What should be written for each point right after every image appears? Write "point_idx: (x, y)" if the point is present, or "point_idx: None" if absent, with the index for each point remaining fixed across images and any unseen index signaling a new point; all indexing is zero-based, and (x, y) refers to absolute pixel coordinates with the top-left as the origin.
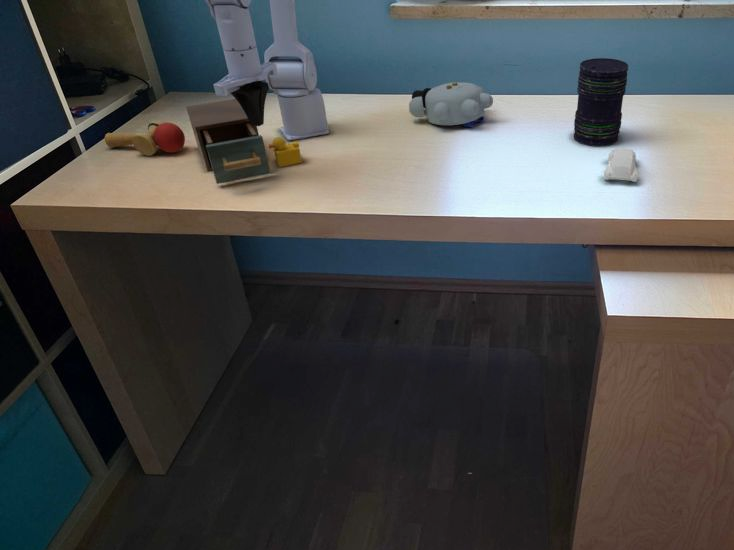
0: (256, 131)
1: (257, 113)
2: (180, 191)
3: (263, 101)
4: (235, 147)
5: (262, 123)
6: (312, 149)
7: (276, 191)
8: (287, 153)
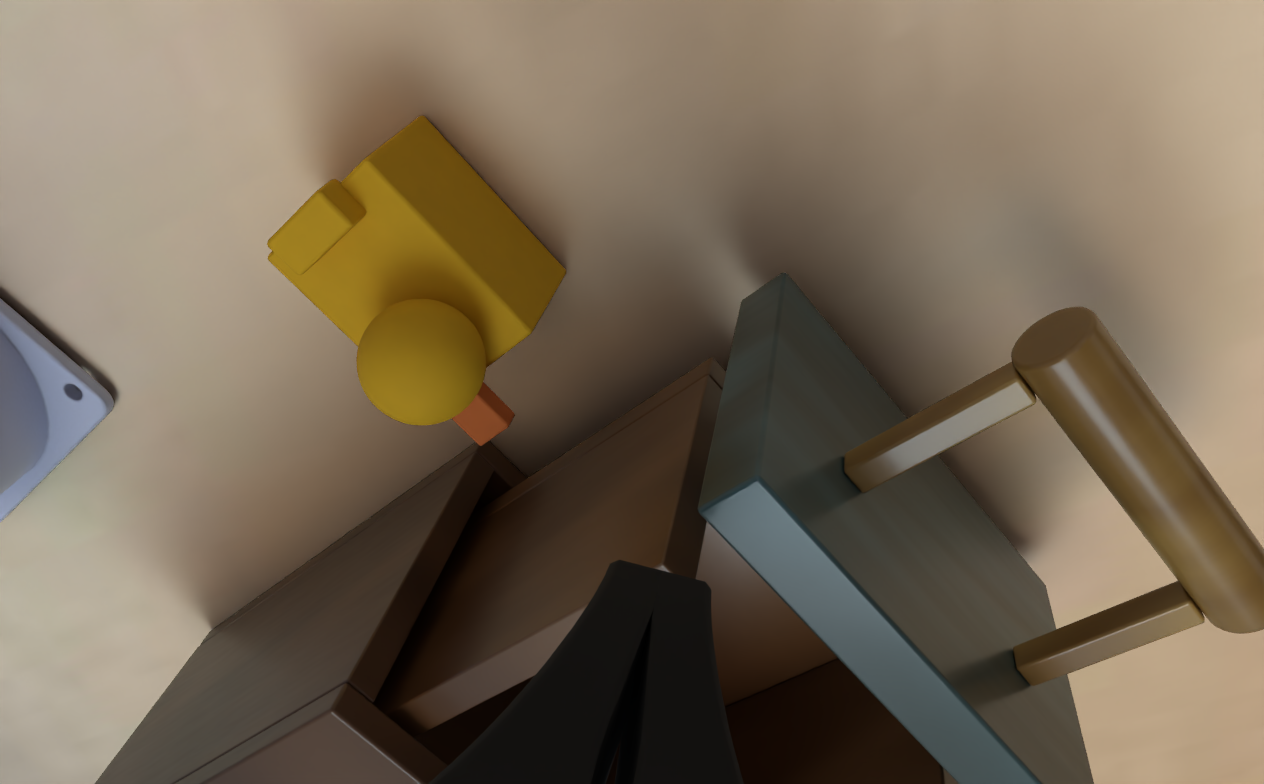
0: (402, 609)
1: (717, 715)
2: (1100, 747)
3: (504, 782)
4: (955, 648)
5: (643, 573)
6: (141, 147)
7: (1097, 72)
8: (469, 246)
